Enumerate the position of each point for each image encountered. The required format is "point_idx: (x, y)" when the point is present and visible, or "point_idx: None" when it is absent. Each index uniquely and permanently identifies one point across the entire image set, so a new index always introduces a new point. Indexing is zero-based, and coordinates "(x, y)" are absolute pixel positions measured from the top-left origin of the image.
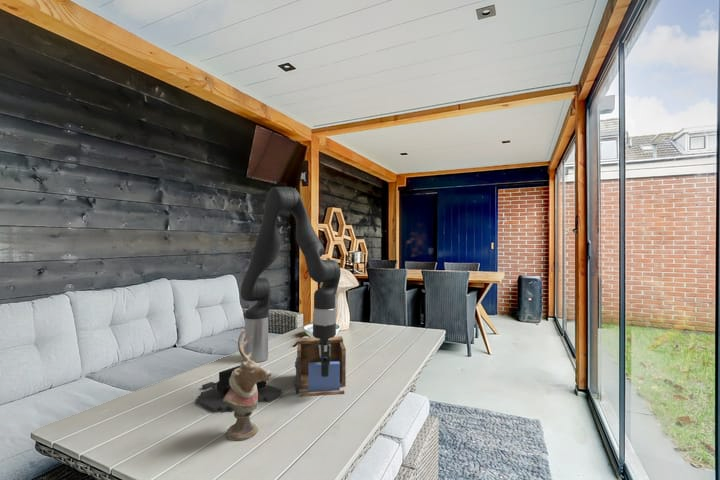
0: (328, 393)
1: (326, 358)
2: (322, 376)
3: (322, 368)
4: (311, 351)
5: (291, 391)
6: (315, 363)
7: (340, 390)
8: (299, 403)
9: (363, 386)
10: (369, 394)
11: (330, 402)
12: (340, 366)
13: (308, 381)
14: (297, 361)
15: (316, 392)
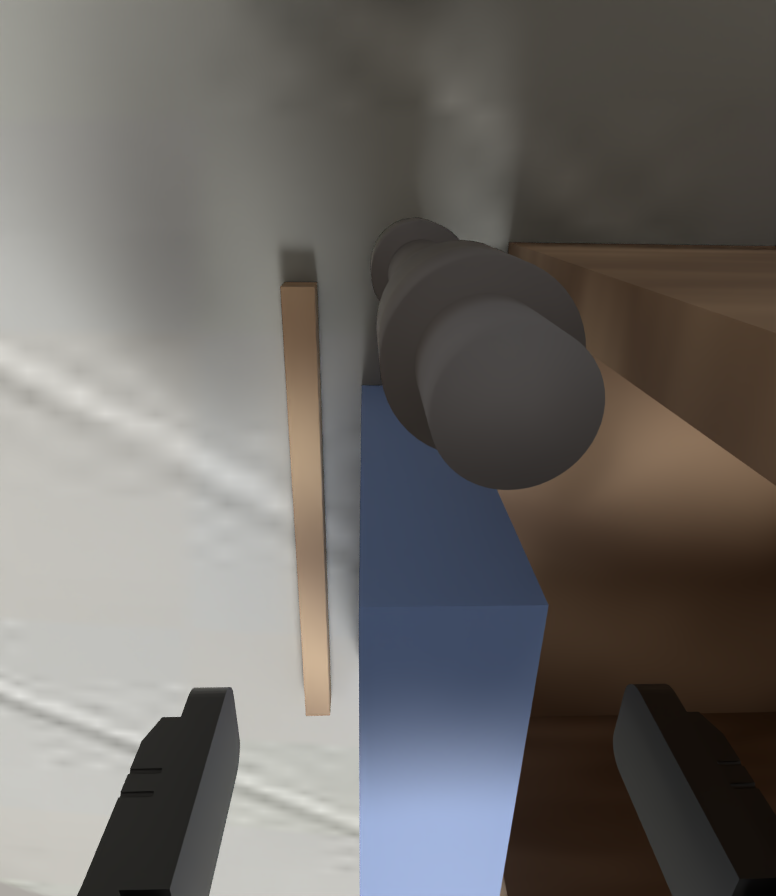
0: (300, 584)
1: (672, 891)
2: (195, 695)
3: (151, 825)
4: None
5: (461, 162)
6: (454, 732)
7: (322, 689)
8: (91, 276)
9: None
10: (272, 837)
11: (125, 584)
12: None
13: (399, 436)
14: (421, 360)
15: (303, 481)
